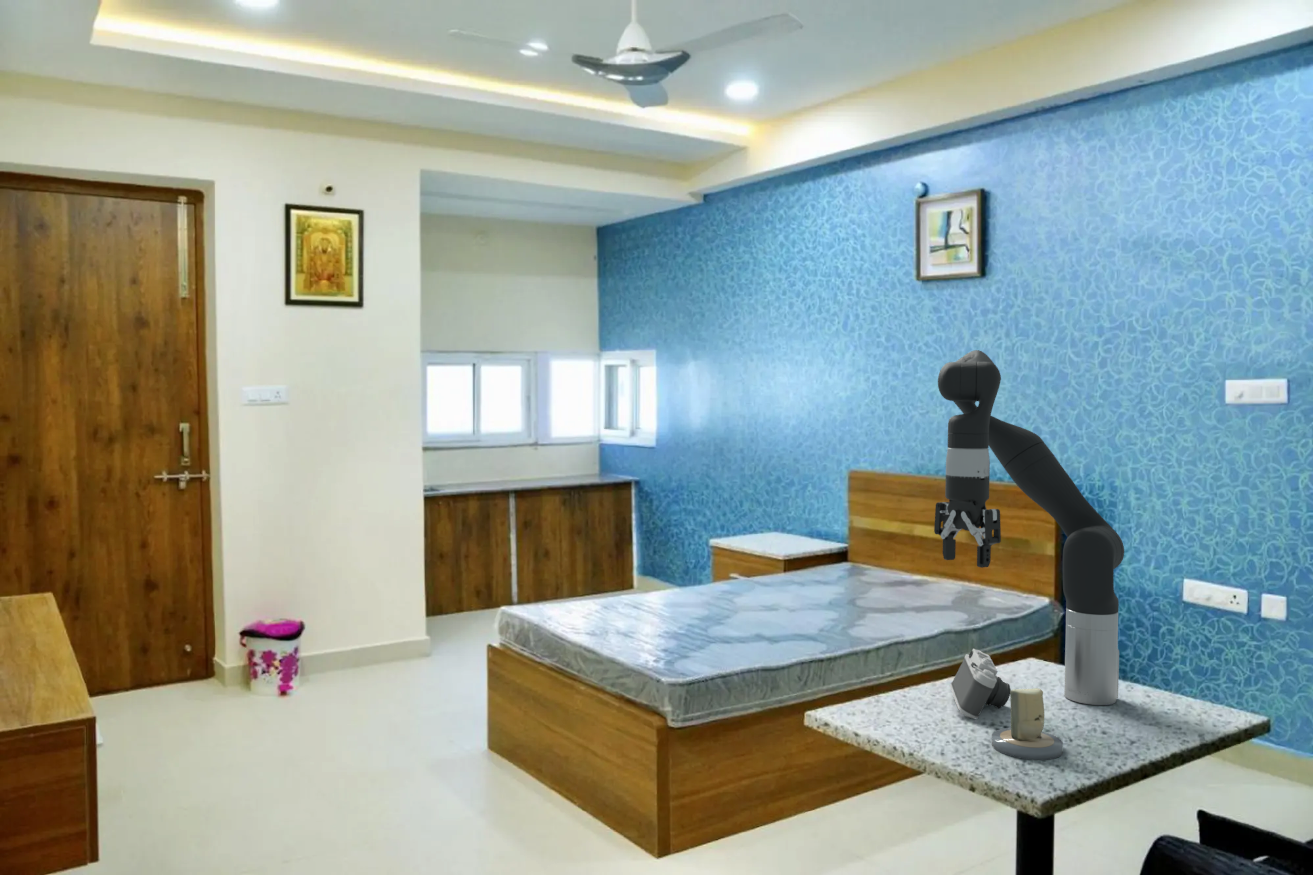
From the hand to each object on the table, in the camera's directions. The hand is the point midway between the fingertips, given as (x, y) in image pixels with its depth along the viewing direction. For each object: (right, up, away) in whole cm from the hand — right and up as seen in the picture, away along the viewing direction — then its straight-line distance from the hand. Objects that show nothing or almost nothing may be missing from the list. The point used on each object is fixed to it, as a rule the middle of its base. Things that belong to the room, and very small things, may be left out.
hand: (965, 563), depth 179 cm
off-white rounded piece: (+6, -27, -14) cm, 31 cm away
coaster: (+6, -29, -14) cm, 33 cm away
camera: (+5, -28, +7) cm, 29 cm away
